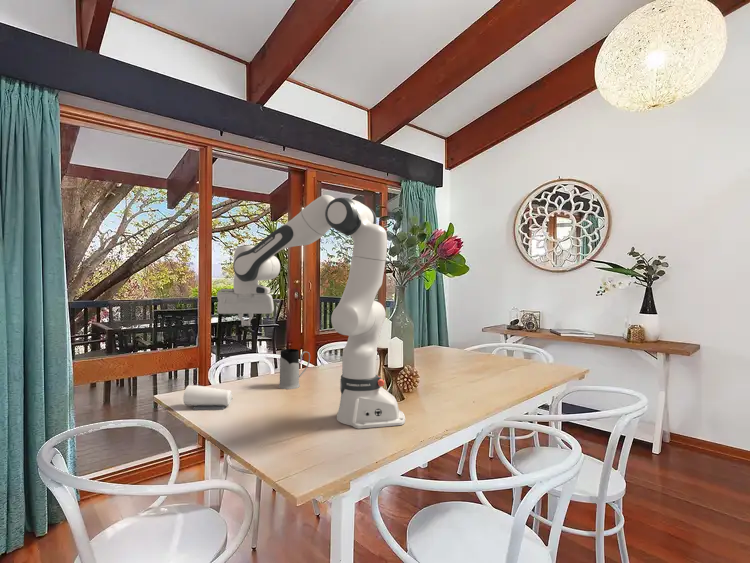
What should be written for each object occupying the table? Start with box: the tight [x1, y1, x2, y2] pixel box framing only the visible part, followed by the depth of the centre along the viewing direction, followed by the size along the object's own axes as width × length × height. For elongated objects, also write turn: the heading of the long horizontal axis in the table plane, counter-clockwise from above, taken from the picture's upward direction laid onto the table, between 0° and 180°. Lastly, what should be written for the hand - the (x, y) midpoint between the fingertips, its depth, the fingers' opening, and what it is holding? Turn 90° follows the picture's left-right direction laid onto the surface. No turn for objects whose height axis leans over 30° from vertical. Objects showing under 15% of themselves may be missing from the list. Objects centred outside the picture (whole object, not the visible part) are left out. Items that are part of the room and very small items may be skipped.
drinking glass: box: [182, 384, 233, 407], centre depth 148 cm, size 7×7×15 cm
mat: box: [192, 405, 227, 411], centre depth 151 cm, size 10×12×1 cm
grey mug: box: [278, 348, 311, 390], centre depth 177 cm, size 9×14×15 cm, turn 131°
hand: (245, 325), depth 158 cm, fingers closed
